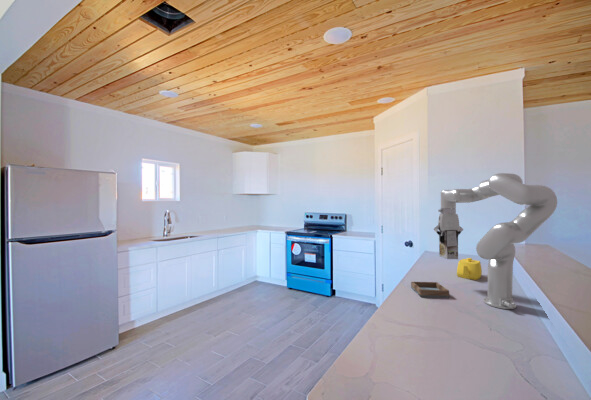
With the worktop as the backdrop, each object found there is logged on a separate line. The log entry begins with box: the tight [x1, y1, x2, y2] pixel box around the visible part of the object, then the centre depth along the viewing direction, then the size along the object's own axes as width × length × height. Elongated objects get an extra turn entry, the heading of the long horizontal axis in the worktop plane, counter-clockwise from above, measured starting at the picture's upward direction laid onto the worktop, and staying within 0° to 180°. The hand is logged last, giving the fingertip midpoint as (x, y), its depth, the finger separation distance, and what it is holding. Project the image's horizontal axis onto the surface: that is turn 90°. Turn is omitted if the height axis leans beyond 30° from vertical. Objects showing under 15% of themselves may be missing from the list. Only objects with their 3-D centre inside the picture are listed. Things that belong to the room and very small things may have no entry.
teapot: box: [456, 257, 483, 281], centre depth 176 cm, size 20×12×12 cm, turn 134°
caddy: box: [410, 281, 450, 299], centre depth 148 cm, size 14×14×4 cm
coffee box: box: [438, 230, 459, 260], centre depth 158 cm, size 9×6×16 cm
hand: (448, 242), depth 158 cm, fingers closed on coffee box, 6 cm apart
